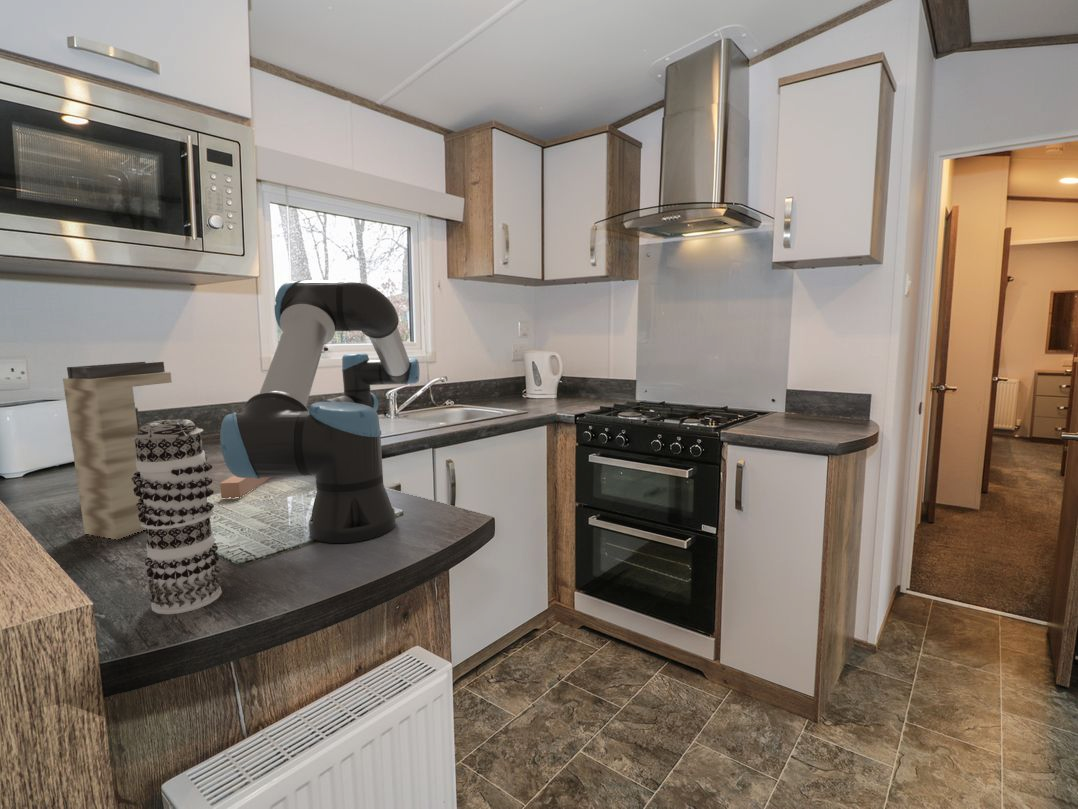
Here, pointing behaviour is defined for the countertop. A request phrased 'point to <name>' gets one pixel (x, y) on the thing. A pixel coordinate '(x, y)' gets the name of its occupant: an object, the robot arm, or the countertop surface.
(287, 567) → the countertop surface
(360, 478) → the robot arm
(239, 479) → the reddish brown bar
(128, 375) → the shelf stand
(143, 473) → the decorative candle
